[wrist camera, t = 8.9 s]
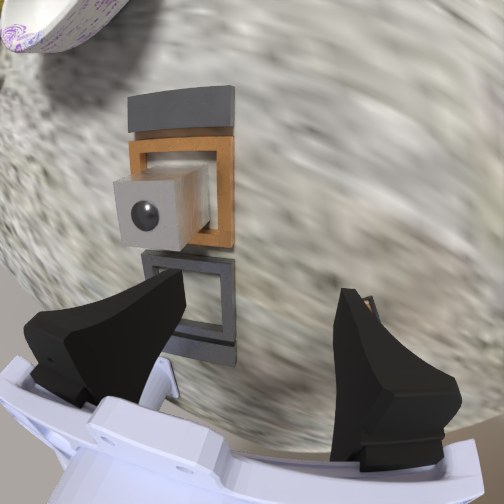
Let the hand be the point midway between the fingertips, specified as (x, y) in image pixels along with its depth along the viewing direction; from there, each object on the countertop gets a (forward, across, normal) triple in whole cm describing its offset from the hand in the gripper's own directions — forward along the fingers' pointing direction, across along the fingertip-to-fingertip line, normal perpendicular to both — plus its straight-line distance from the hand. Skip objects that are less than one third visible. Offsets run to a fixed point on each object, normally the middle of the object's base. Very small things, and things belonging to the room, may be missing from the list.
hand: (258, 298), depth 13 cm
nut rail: (+10, +8, +3) cm, 13 cm away
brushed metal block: (+10, +8, -2) cm, 13 cm away
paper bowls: (+11, +17, -23) cm, 31 cm away
